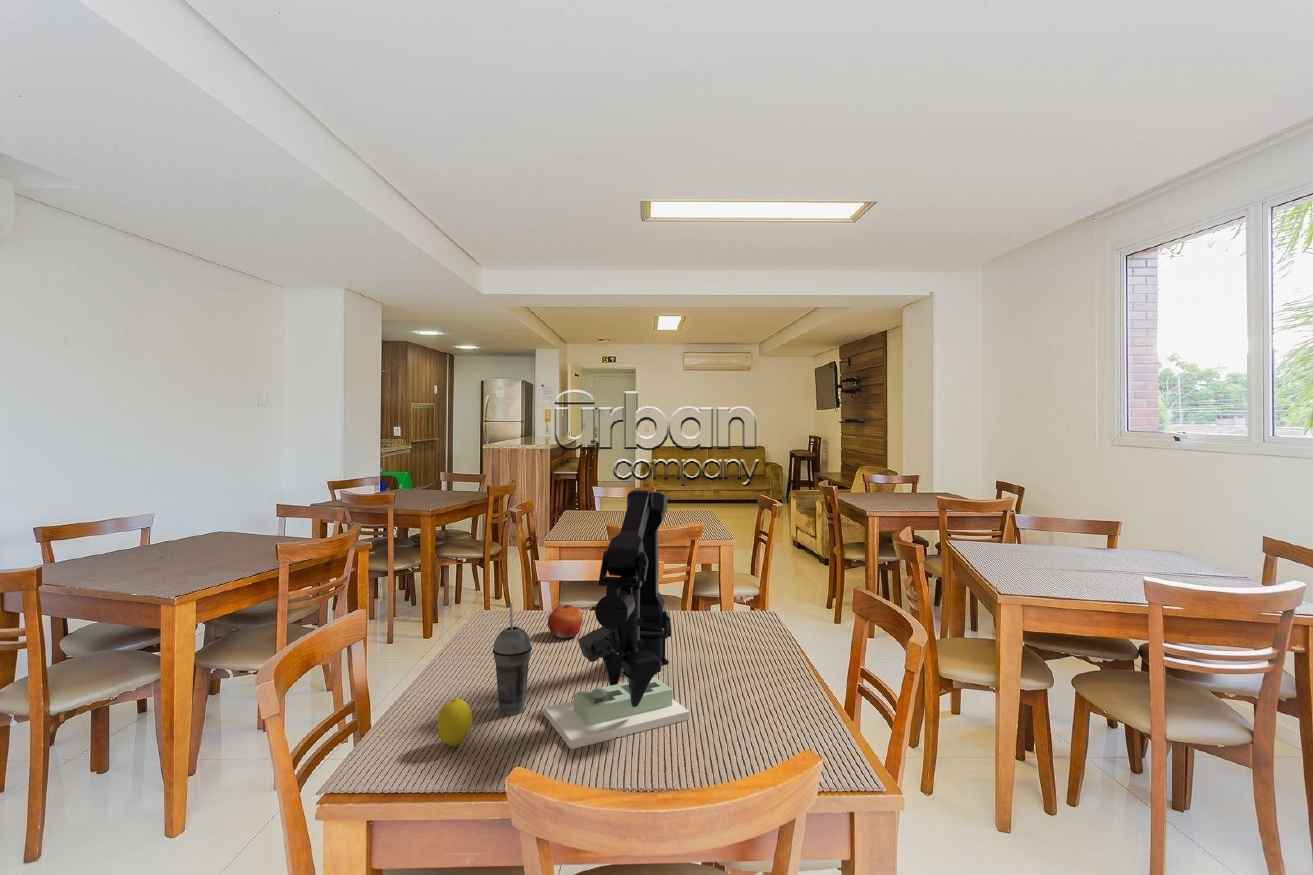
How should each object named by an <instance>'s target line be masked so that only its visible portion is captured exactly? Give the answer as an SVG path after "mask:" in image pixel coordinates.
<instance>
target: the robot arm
mask: <svg viewBox="0 0 1313 875" xmlns="http://www.w3.org/2000/svg"><path fill="white" fill-rule="evenodd" d="M626 494H627V496H626V511H625V514H624V518H623V521H622V524H621V528H620V531H619V533H618V534H617V535H615V536H614V537H613V538H611V539H610V541H609V543H608V546H607V548H606V550H604V552H603V554H602V555H603V556H602V561H601V565H600V572H599V578H598V584H597V585H598V587H606V592H605V595H603V596H602V597H601V598H600V599H599V600H598V602H597V603H596V606H595V609H594V614H595V619H596V620H597V622H598V623H599V625H600V626H601V627H599V628H596V629H593V630H592V631H590V632H588V633H587V634H585V635H583V636H581V637H580V638H579V639H578V640H577V642H578V645H579V648H580V650H581V654H582V655H583V657H584V658H586V659H587V661H588V662H590V663H594V662H596V661H598V660H599V659H602V661H603V664H604V669H605V671H606V676H607V679H608V682H609V686H612V685H617V684H619V680H620V678H621V677H620V676H621V674H622V675H623V676H624V677H625V678H627V679H628V682H629V689H630V698H631V704H632V707H637V706H638V705H639V703H640V701H641V699H642V697H643V694H644V692H645V690H646V688H647V686H648V684H649V683H650V681H651V679H652V678H653V677H655V676H656V675H657V674H658V673H660V672H662V665H665V664H667V665H668V664H669V663H670V661H669V659H667V658H666V640H667V639H668V638H670V637H672V623H671V622H672V621H671V618H670V617H669V612H668V611H666V601H665V599H664V598H663V596H662V595H661V592H660V590H659V528H660V527H661V525H662V523H663V521H664V519H665V517H666V513H667V512H668V497H667V495H665V494H663V491H651V490H650V489H633V490H629V492H628V493H626ZM607 574H608V575H609V576H608V575H607Z"/></svg>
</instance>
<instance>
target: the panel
mask: <svg viewBox="0 0 1313 875" xmlns="http://www.w3.org/2000/svg"><path fill="white" fill-rule="evenodd" d="M601 688H602V689H605V690H606V697H604V698H603V702H602V703H597V704H595V698H593V697H592V690H594V689H595V688H593V689H588V690H584V691H579V692H573V701H574V706H573V710H574V711H575V712H576V713H577V714H578V715H579V716H580V717H581V719H582V720H583V721H584V722H585V723H586V724H587V725H592V724H596V723H601V722H605V721H609V720H613V719H618V718H622V717H626V716H630V715H635V714H639V713H643V712H647V711H652V710H656V709H660V708H664V707H669V706H672V699H673V689H672V688H671V687H669V686H668V685H667V684H665V683H664V682H663V681H662V680H660V679H658V678H657V677H656V676H653V678H652V679H651V681H650V683H649V684H648V686H647V688H646V690H645V692H644V694H643V697H642V699H641V701H640V703H639V705H638V706H637V707H632V704H631V698H630V689H629V681H627V682H622V683H618V684H617V685H612V686H610V685H608V686H602V687H601Z"/></svg>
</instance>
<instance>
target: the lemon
mask: <svg viewBox="0 0 1313 875" xmlns="http://www.w3.org/2000/svg"><path fill="white" fill-rule="evenodd" d="M472 714H473V713H472V710H471V707H470V705H469V704H468V702H466V701H464V699H463V700H462V699H459V698H457V697H454V698H452V699H451V700H449V701H447V702H446V703H445V704H444V705H443V706H442V707H441V709H440V711H439V713H438V716H437V717H438V718H437V726H436V728H437V734H438V737H439V738H440V740H441V741H442V742H444V743H445V744H447V745H450V746H452V747H453V748H456V747H458V745H459V744H460V743H462V742H464V741H466V739H467V738H468V737H469V735H470V733H471V732H472V731H471V730H472V726H473V715H472Z"/></svg>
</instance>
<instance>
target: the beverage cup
mask: <svg viewBox="0 0 1313 875" xmlns="http://www.w3.org/2000/svg"><path fill="white" fill-rule="evenodd" d="M513 606H514V604H513V602H509V627H506V628H504V629H502V630H501V631H500V632H499V633H498V635H497V636H496V638H495V640H494V641H493V642H494V644H493V648H492V653H493V659H494V663H495V673H496V674H495V675H496V686H497V698H498V708H499V713H500V714H501V715H503V716H515V715H514V714H517V715H519V714H522V713H524V711H523V710H525V704H526V697H527V685H528V675H529V674H528V673H529V664H530V663H529V662H530V659H531V655H532V650H533V648H532V642H531V639H530V637H529V634H528V633H527V632H526V631H525V630H524V629H522V628H521V627H520V626H519V627H518V626H514V614H513V612H514V611H513Z"/></svg>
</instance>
